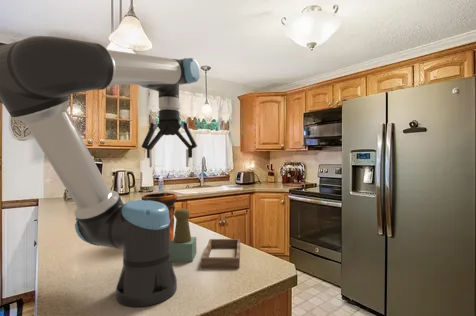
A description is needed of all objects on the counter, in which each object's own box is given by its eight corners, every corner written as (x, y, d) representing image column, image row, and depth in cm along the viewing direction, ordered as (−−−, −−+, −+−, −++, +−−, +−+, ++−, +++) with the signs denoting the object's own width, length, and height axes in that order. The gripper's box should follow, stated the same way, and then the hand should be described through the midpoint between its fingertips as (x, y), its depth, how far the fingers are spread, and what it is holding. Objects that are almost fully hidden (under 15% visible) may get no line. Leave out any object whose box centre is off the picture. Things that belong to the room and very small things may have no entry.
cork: (170, 241, 94) (169, 209, 94) (183, 236, 99) (183, 207, 99) (181, 244, 90) (180, 211, 90) (194, 240, 95) (194, 208, 95)
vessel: (170, 247, 104) (168, 196, 105) (136, 247, 107) (134, 197, 107) (183, 237, 119) (182, 191, 119) (153, 236, 121) (151, 192, 121)
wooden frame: (239, 267, 85) (239, 258, 85) (201, 267, 86) (201, 258, 85) (240, 246, 105) (240, 239, 105) (209, 246, 106) (209, 239, 105)
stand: (192, 261, 91) (192, 244, 91) (168, 261, 91) (168, 244, 91) (196, 253, 99) (196, 236, 99) (174, 253, 99) (174, 237, 99)
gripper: (203, 111, 104) (204, 166, 104) (140, 112, 105) (140, 166, 105) (200, 107, 97) (201, 166, 97) (132, 109, 97) (132, 167, 97)
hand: (169, 167), depth 101 cm, fingers open, 13 cm apart
